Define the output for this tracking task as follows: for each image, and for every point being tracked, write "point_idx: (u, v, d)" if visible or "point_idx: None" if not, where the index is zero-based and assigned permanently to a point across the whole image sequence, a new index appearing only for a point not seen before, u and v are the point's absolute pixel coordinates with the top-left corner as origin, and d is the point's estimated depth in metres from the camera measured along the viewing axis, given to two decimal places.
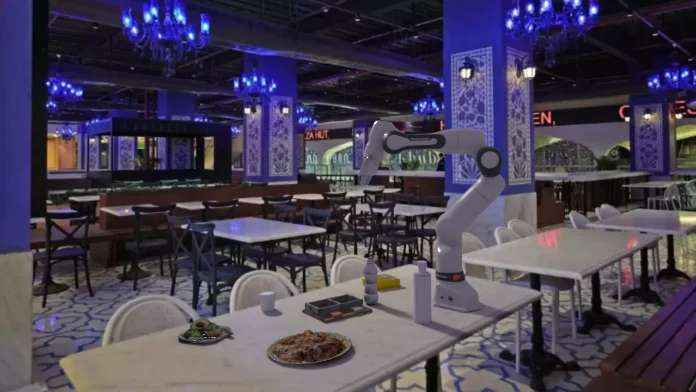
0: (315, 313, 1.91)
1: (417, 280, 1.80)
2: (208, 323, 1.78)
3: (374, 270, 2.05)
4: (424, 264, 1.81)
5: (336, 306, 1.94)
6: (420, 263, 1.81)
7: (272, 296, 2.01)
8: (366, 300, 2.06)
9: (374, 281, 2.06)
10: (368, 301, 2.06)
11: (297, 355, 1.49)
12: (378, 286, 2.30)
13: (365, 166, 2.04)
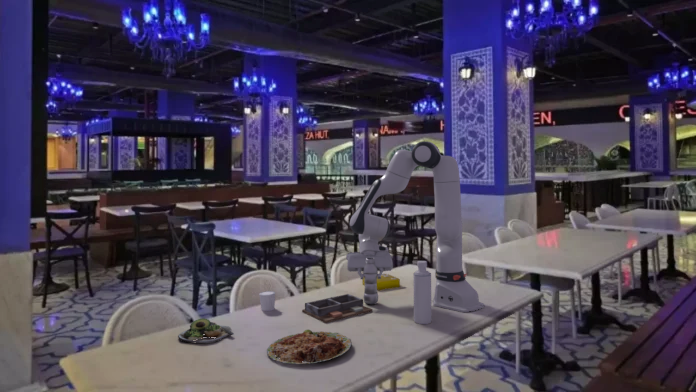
0: (315, 313, 1.91)
1: (417, 280, 1.80)
2: (208, 323, 1.78)
3: (374, 270, 2.05)
4: (424, 264, 1.81)
5: (336, 306, 1.94)
6: (420, 263, 1.81)
7: (272, 296, 2.01)
8: (366, 300, 2.06)
9: (374, 281, 2.06)
10: (368, 301, 2.06)
11: (297, 355, 1.49)
12: (378, 286, 2.30)
13: None
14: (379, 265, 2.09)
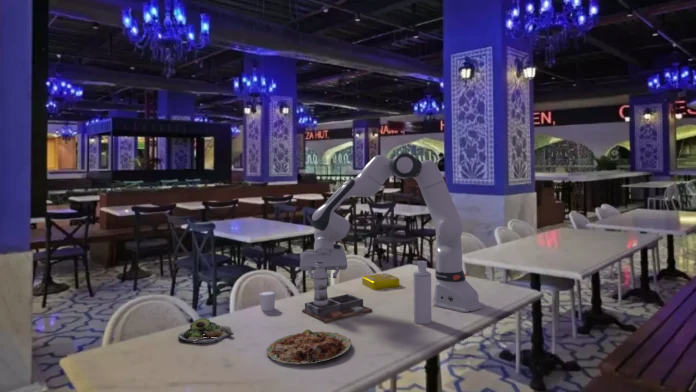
0: (315, 313, 1.91)
1: (417, 280, 1.80)
2: (208, 323, 1.78)
3: (323, 275, 1.93)
4: (424, 264, 1.81)
5: (336, 306, 1.94)
6: (420, 263, 1.81)
7: (272, 296, 2.01)
8: None
9: (324, 287, 1.94)
10: None
11: (296, 355, 1.49)
12: (377, 285, 2.31)
13: None
14: (333, 264, 2.02)
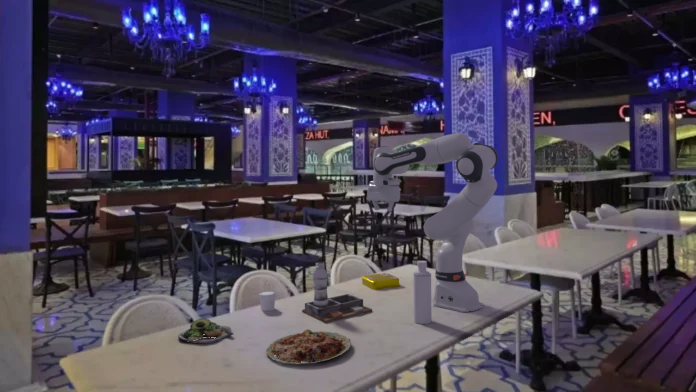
0: (315, 313, 1.91)
1: (417, 280, 1.80)
2: (208, 323, 1.78)
3: (323, 275, 1.93)
4: (424, 264, 1.81)
5: (336, 306, 1.94)
6: (420, 263, 1.81)
7: (272, 296, 2.01)
8: None
9: (324, 287, 1.94)
10: None
11: (296, 355, 1.49)
12: (377, 285, 2.32)
13: None
14: (385, 199, 2.19)
